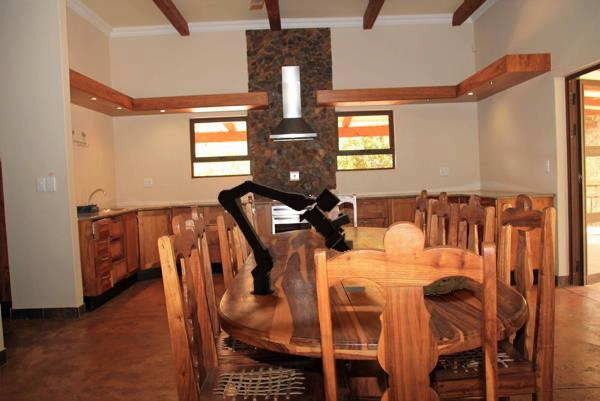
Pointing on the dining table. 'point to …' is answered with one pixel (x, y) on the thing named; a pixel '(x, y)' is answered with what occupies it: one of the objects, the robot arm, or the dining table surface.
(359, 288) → the stamping board
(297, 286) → the dining table surface
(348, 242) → the stamp
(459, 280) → the rock
